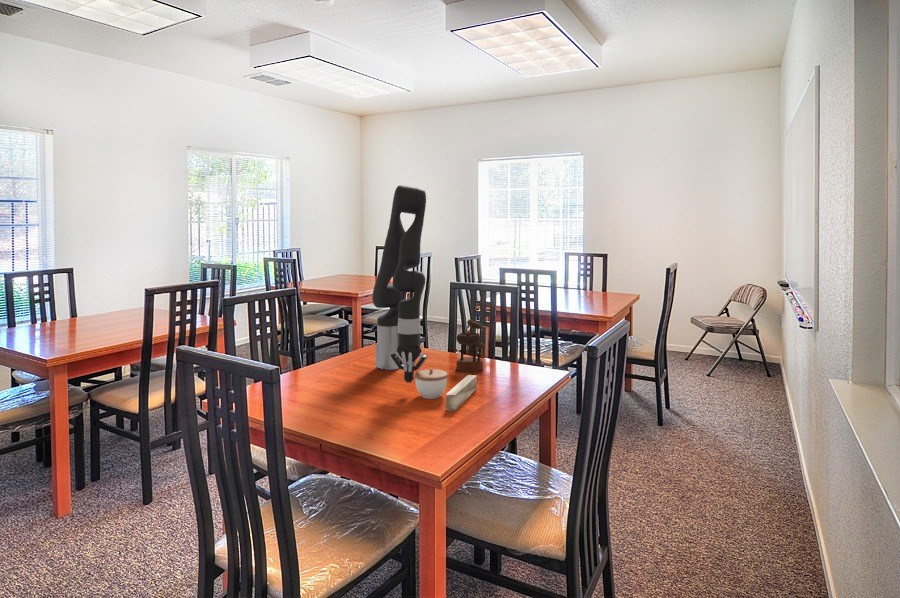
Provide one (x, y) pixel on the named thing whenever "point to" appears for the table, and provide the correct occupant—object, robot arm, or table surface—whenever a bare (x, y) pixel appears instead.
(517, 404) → the table surface
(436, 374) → the lidded jar
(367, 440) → the table surface
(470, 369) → the music box
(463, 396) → the grey long bar
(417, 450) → the table surface
